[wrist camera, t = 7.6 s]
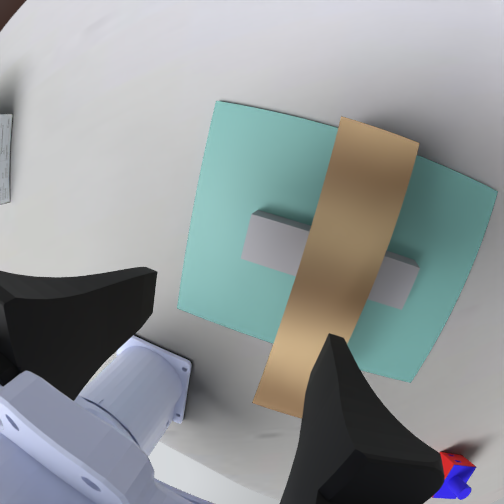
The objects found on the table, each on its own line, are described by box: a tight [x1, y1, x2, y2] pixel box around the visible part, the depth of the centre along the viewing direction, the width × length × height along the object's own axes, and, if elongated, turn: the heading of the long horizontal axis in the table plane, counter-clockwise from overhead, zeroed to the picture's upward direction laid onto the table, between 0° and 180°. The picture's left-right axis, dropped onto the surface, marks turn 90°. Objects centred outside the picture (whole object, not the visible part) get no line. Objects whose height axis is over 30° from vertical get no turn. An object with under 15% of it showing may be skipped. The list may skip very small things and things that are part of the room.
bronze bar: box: [252, 116, 420, 418], centre depth 17 cm, size 16×4×5 cm, turn 167°
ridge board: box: [177, 101, 498, 383], centre depth 20 cm, size 16×20×2 cm
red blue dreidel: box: [432, 452, 476, 500], centre depth 21 cm, size 4×4×8 cm
